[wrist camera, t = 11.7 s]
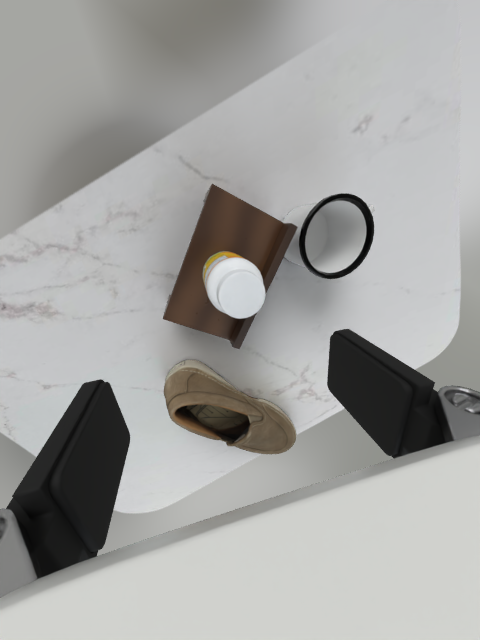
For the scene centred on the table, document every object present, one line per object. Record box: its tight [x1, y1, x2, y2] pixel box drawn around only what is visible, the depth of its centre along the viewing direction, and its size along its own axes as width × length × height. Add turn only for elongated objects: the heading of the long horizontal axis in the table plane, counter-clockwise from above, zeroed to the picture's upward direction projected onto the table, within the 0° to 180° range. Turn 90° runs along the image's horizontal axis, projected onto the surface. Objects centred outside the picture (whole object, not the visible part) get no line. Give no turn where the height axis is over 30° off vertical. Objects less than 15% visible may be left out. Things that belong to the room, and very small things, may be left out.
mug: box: [282, 194, 374, 279], centre depth 31 cm, size 12×10×9 cm
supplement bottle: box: [203, 251, 265, 319], centre depth 23 cm, size 5×5×10 cm
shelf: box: [163, 184, 298, 349], centre depth 30 cm, size 10×16×9 cm, turn 155°
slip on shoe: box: [164, 360, 296, 454], centre depth 40 cm, size 30×11×9 cm, turn 43°
